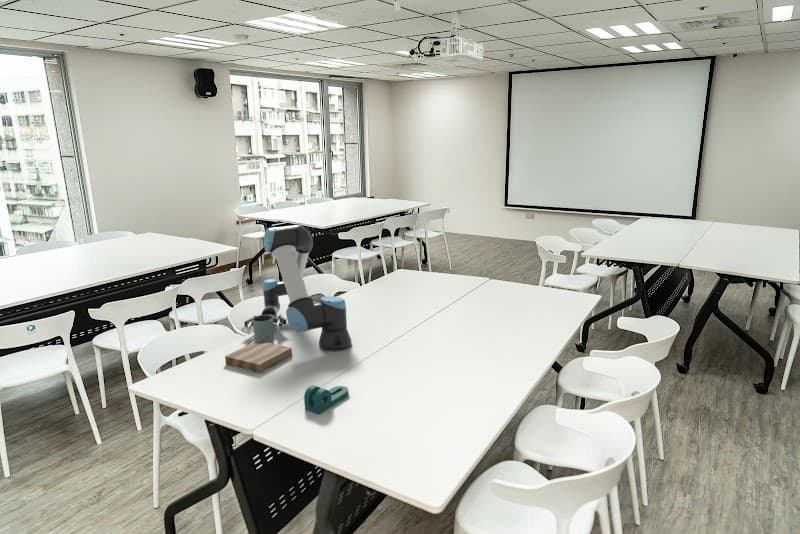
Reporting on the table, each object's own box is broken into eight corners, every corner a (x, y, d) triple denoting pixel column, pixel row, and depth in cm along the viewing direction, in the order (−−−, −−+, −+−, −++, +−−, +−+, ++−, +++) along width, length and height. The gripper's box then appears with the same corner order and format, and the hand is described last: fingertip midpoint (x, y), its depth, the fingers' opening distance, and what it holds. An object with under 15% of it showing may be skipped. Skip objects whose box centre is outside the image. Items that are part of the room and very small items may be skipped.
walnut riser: (292, 355, 226) (291, 347, 225) (260, 373, 209) (259, 364, 208) (259, 348, 235) (258, 340, 234) (225, 364, 218) (224, 356, 217)
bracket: (318, 415, 176) (317, 394, 174) (305, 410, 179) (303, 389, 177) (352, 394, 190) (351, 375, 188) (338, 389, 194) (337, 370, 192)
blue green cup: (256, 346, 237) (254, 322, 234) (252, 339, 246) (249, 316, 243) (277, 342, 242) (275, 318, 239) (272, 335, 250) (270, 313, 248)
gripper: (294, 319, 264) (290, 334, 243) (245, 322, 261) (237, 337, 241) (293, 306, 262) (288, 319, 242) (244, 308, 260) (235, 322, 239)
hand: (263, 328), depth 241 cm, fingers open, 13 cm apart
